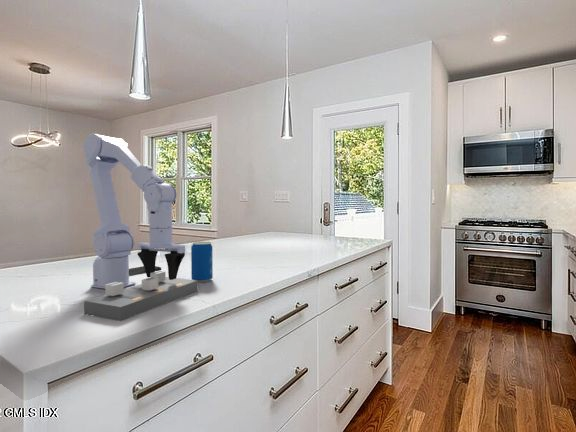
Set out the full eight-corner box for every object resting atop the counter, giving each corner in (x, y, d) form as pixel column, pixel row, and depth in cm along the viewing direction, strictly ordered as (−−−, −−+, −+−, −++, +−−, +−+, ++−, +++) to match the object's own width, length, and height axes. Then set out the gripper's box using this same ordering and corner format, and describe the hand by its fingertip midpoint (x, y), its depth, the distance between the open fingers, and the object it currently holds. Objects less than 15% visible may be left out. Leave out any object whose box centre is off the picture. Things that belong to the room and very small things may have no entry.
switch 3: (150, 281, 94) (150, 272, 93) (158, 279, 96) (158, 270, 96) (157, 282, 93) (157, 273, 92) (165, 280, 95) (165, 271, 95)
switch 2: (141, 289, 86) (141, 279, 85) (150, 286, 88) (150, 276, 88) (149, 290, 85) (149, 280, 84) (158, 287, 87) (158, 277, 87)
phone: (162, 267, 126) (123, 274, 114) (162, 270, 126) (123, 278, 114) (149, 265, 131) (110, 271, 118) (149, 268, 131) (110, 275, 118)
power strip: (84, 314, 77) (83, 300, 77) (177, 283, 106) (177, 273, 106) (120, 321, 73) (120, 306, 73) (208, 286, 102) (208, 276, 101)
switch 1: (105, 294, 81) (105, 284, 80) (116, 291, 83) (116, 281, 83) (113, 296, 80) (113, 285, 80) (124, 292, 82) (123, 282, 82)
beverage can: (207, 283, 106) (207, 244, 105) (187, 282, 107) (187, 243, 106) (215, 278, 112) (215, 241, 111) (197, 277, 113) (197, 241, 113)
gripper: (128, 228, 92) (129, 278, 93) (172, 230, 87) (172, 283, 87) (148, 226, 99) (149, 273, 99) (190, 228, 93) (190, 277, 94)
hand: (161, 277), depth 94 cm, fingers open, 7 cm apart
